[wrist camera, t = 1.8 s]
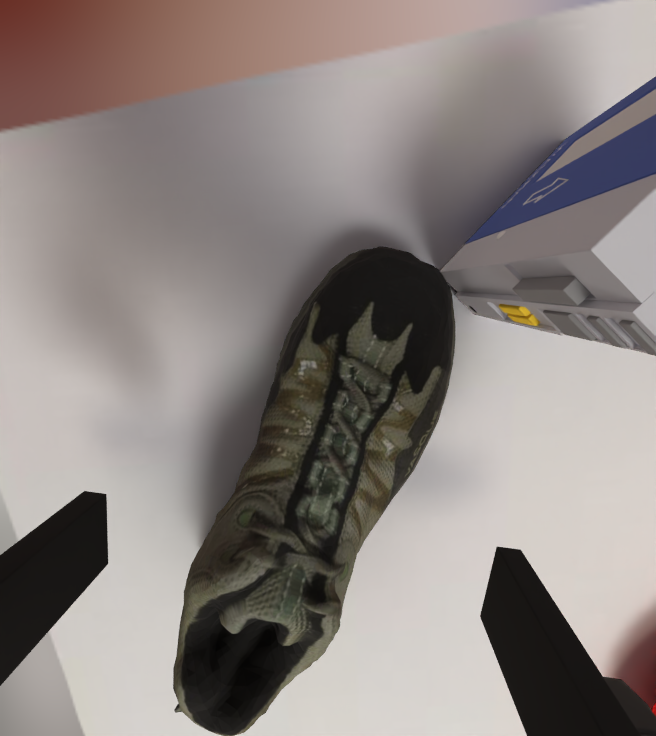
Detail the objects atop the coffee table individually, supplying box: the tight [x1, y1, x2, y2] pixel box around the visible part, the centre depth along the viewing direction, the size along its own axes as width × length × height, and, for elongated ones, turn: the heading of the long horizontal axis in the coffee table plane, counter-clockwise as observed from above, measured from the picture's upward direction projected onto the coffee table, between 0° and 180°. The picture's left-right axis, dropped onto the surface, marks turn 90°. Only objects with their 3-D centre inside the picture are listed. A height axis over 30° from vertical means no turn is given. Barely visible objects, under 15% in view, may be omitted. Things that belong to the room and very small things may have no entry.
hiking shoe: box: [173, 246, 455, 736], centre depth 15 cm, size 8×21×9 cm, turn 157°
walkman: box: [440, 77, 656, 356], centre depth 11 cm, size 8×3×12 cm, turn 138°
